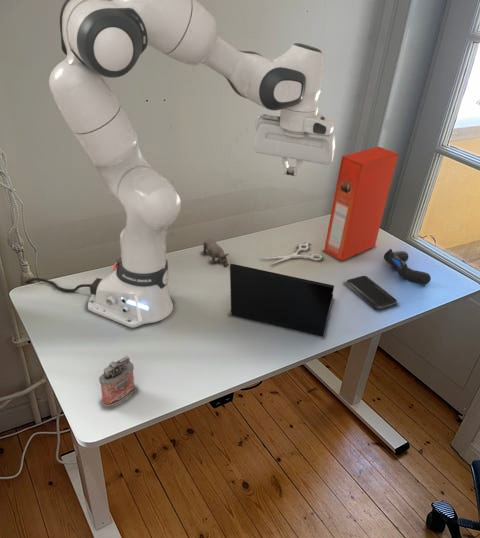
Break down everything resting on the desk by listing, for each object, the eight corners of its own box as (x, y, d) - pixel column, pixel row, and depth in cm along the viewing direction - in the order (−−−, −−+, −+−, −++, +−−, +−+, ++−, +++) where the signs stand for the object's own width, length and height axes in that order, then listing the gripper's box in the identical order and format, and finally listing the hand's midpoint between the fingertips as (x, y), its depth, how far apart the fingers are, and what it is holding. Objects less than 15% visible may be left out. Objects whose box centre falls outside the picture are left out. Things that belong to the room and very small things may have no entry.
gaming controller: (395, 265, 168) (376, 253, 163) (407, 251, 166) (388, 239, 161) (422, 293, 156) (402, 282, 150) (435, 279, 154) (415, 267, 148)
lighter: (108, 410, 107) (104, 376, 100) (99, 402, 108) (94, 368, 102) (138, 391, 112) (136, 358, 105) (129, 383, 113) (126, 350, 107)
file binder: (323, 250, 168) (342, 155, 148) (356, 237, 177) (378, 146, 157) (341, 261, 163) (363, 164, 143) (374, 246, 172) (399, 154, 153)
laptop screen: (230, 262, 121) (229, 265, 120) (334, 285, 116) (333, 287, 116) (231, 310, 135) (230, 312, 134) (324, 331, 130) (323, 334, 130)
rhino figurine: (221, 274, 152) (222, 257, 148) (199, 253, 161) (200, 236, 157) (233, 271, 154) (234, 254, 150) (211, 250, 162) (211, 233, 159)
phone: (378, 307, 142) (345, 280, 152) (377, 311, 142) (344, 283, 152) (399, 301, 145) (365, 274, 155) (398, 304, 146) (365, 278, 156)
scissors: (327, 256, 163) (275, 269, 154) (327, 258, 164) (275, 271, 155) (308, 241, 170) (258, 252, 161) (308, 243, 171) (257, 254, 162)
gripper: (253, 116, 122) (248, 171, 130) (337, 129, 118) (327, 185, 126) (259, 109, 126) (254, 163, 135) (340, 122, 123) (330, 177, 131)
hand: (290, 174), depth 131 cm, fingers closed
